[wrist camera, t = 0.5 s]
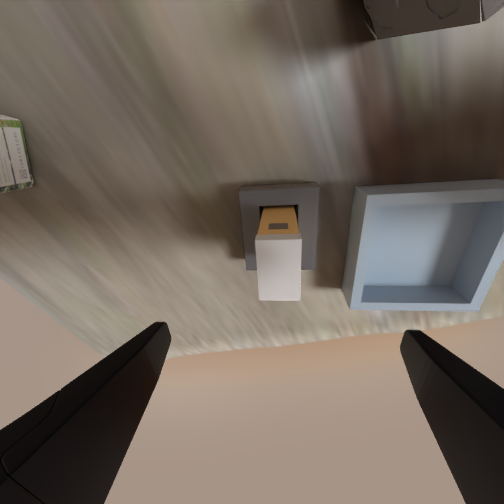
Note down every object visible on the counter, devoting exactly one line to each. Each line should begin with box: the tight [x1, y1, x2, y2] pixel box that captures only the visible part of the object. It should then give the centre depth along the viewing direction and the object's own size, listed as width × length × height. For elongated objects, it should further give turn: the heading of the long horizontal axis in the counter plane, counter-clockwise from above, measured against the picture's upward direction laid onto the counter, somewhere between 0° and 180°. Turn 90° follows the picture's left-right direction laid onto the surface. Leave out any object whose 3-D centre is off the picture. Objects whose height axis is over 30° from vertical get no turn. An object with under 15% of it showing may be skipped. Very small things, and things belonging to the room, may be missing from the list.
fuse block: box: [238, 182, 320, 270], centre depth 19 cm, size 6×7×2 cm
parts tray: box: [342, 179, 504, 312], centre depth 18 cm, size 10×10×3 cm
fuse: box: [255, 205, 302, 301], centre depth 17 cm, size 2×4×8 cm, turn 4°
